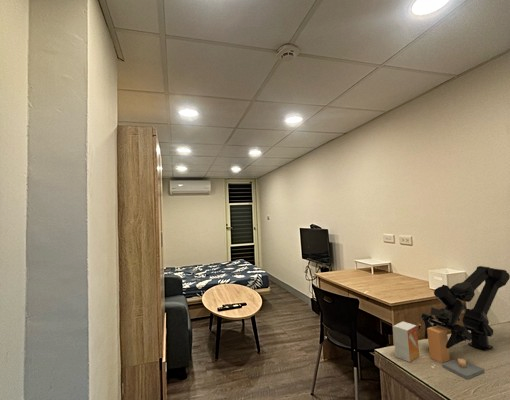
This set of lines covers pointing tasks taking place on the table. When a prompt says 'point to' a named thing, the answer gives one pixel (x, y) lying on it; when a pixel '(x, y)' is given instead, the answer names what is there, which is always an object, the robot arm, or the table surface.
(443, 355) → the orange block on stand
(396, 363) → the table surface
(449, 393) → the table surface
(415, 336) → the small box
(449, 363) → the plate
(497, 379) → the table surface
